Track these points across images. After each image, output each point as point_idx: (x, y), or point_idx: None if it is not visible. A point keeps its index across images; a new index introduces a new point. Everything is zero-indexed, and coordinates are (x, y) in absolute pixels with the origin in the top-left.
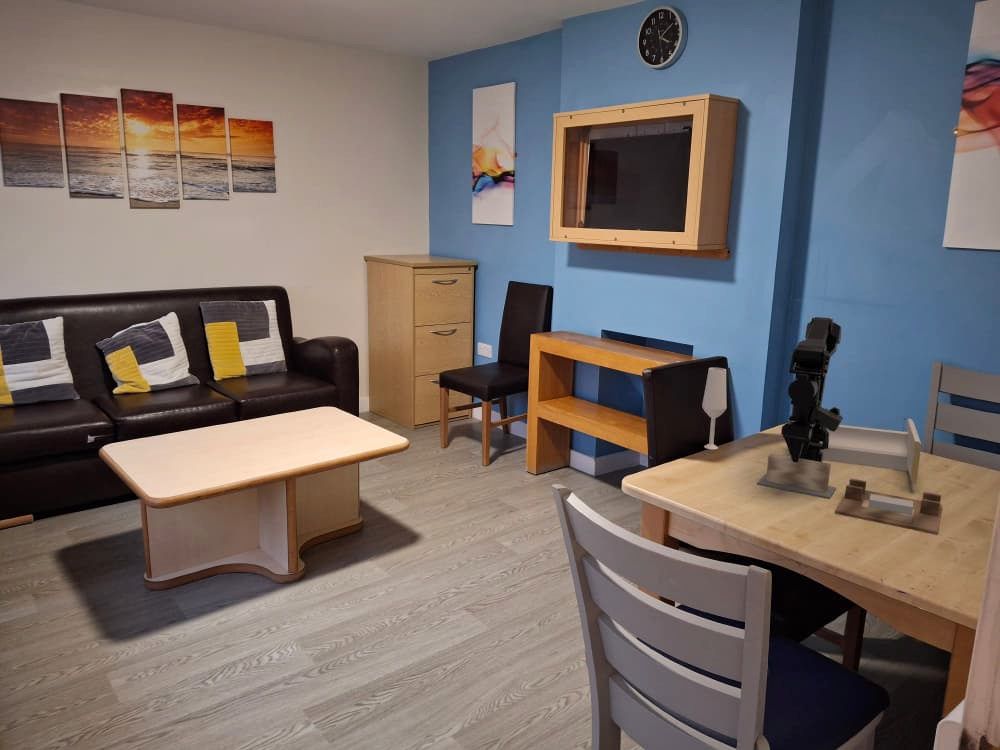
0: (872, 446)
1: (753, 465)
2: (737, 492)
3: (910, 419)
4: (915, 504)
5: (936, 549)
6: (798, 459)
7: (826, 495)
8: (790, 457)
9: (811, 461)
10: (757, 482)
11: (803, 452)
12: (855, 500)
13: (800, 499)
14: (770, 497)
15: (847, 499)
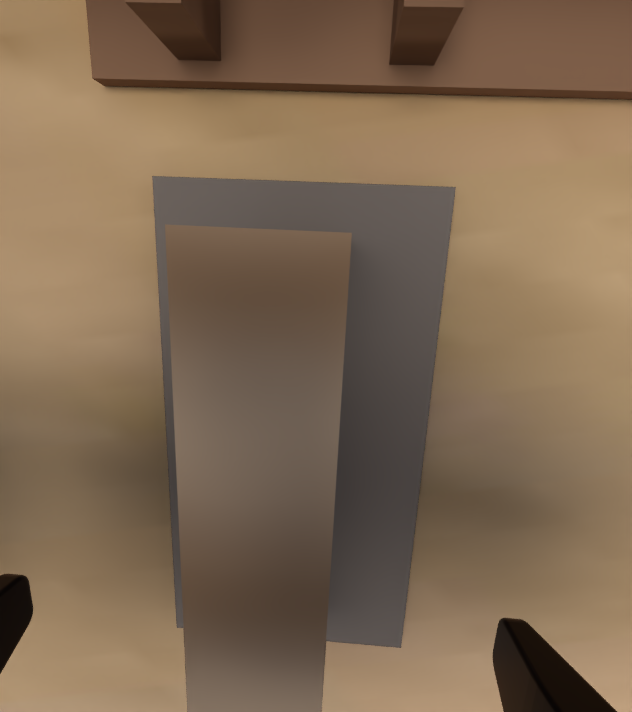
0: None
1: (34, 691)
2: (620, 701)
3: None
4: None
5: None
6: (553, 653)
7: (422, 220)
8: (216, 671)
9: (225, 465)
10: (392, 645)
11: (17, 606)
12: None
13: (576, 378)
14: (628, 544)
15: (464, 35)
